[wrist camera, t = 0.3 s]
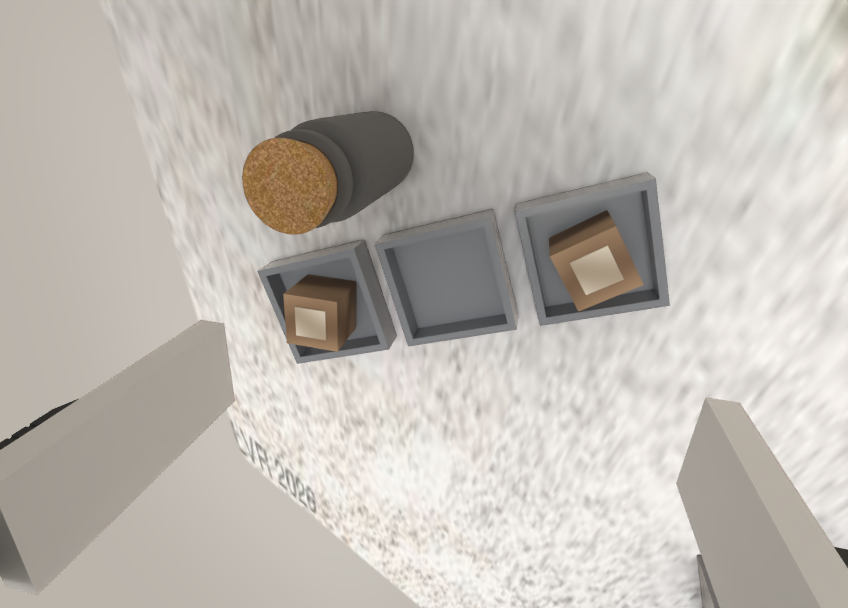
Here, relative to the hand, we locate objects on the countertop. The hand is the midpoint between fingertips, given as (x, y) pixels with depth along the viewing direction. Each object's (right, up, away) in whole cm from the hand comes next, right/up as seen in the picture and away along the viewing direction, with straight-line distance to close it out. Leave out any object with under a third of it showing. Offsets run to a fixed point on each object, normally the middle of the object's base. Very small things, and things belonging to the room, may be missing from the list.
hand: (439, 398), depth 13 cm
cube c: (-9, +3, +29) cm, 31 cm away
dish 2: (+2, +5, +26) cm, 27 cm away
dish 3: (+12, +7, +23) cm, 27 cm away
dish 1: (-8, +3, +30) cm, 31 cm away
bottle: (-4, +14, +24) cm, 28 cm away
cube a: (+12, +7, +23) cm, 26 cm away
